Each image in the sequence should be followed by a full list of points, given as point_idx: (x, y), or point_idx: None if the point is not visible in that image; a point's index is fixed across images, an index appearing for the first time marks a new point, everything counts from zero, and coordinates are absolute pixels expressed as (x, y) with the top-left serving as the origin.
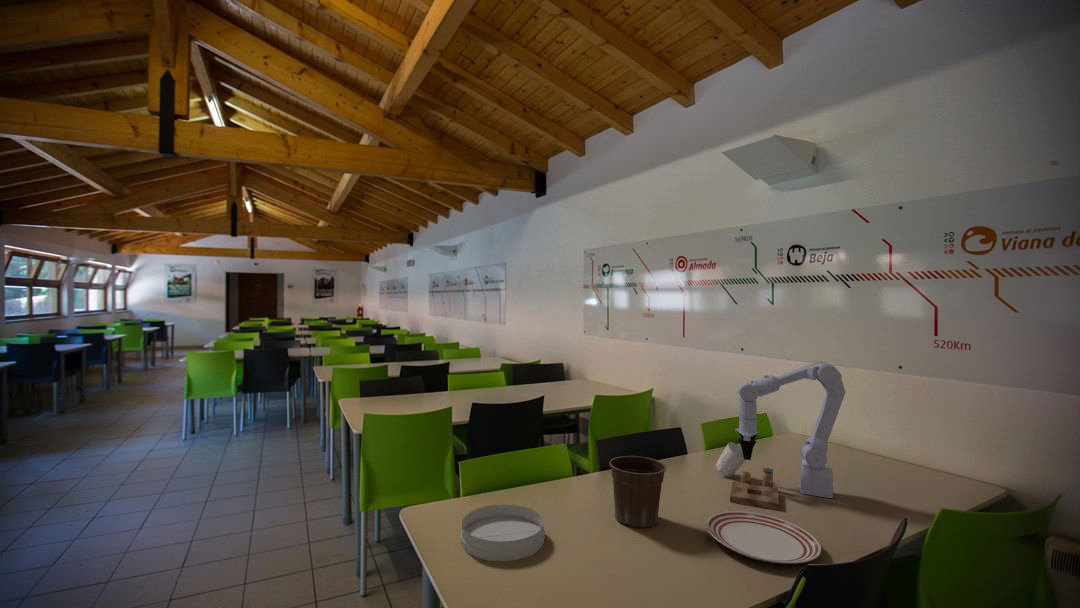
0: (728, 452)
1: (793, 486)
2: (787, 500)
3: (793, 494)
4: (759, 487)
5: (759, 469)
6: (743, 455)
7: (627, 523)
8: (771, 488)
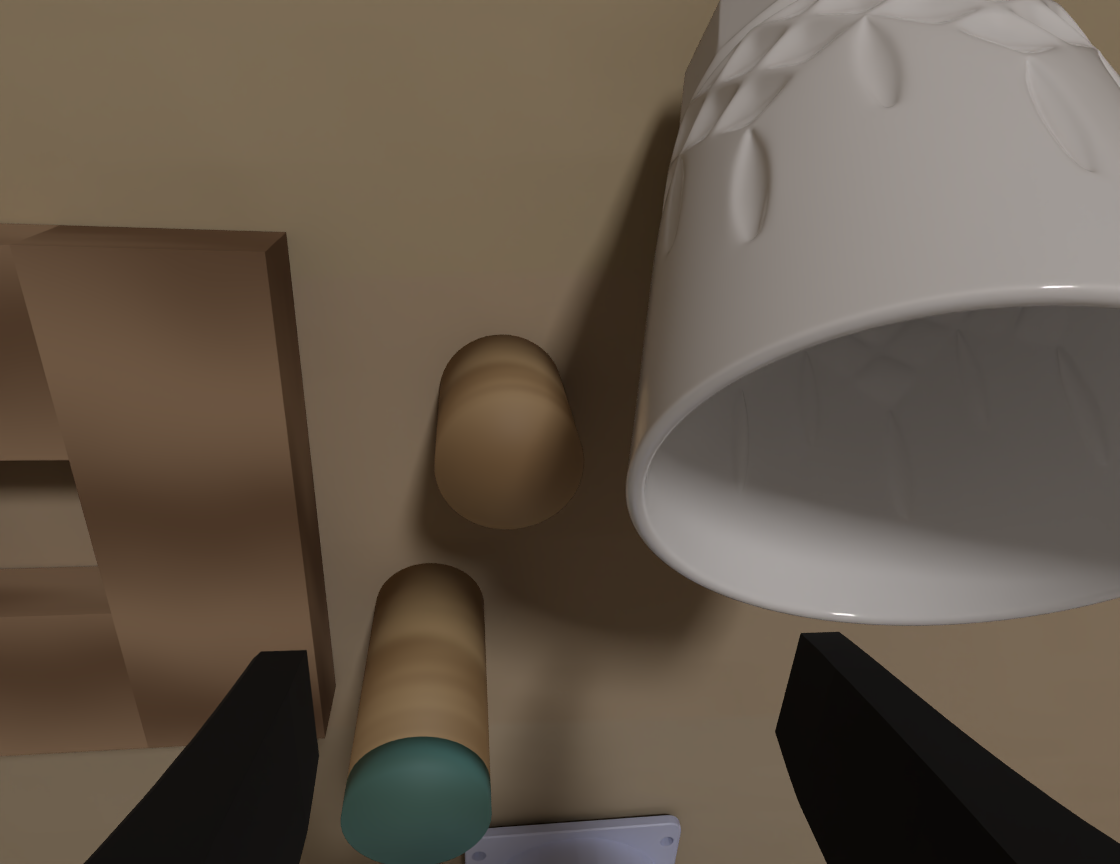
0: (762, 259)
1: (652, 778)
2: None
3: None
4: (229, 587)
5: None
6: (212, 720)
7: None
8: None
